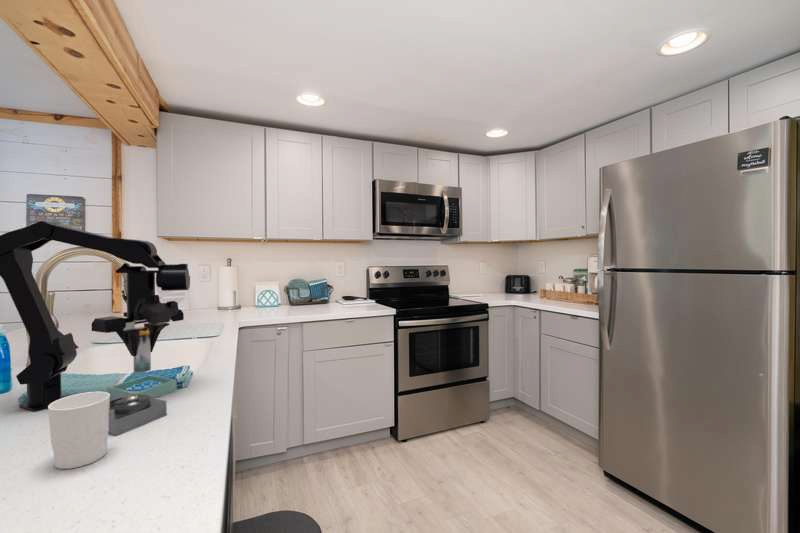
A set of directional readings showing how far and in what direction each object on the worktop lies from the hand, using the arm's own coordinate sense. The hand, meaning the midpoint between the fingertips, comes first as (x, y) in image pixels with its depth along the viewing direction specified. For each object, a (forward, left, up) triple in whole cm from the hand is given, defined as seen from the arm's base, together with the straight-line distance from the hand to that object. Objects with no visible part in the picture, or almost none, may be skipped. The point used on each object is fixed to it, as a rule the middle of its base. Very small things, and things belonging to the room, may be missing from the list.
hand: (141, 354), depth 91 cm
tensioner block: (+11, -11, -10) cm, 18 cm away
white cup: (+20, -23, -10) cm, 32 cm away
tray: (0, 0, -10) cm, 10 cm away
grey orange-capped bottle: (0, 0, -4) cm, 4 cm away
